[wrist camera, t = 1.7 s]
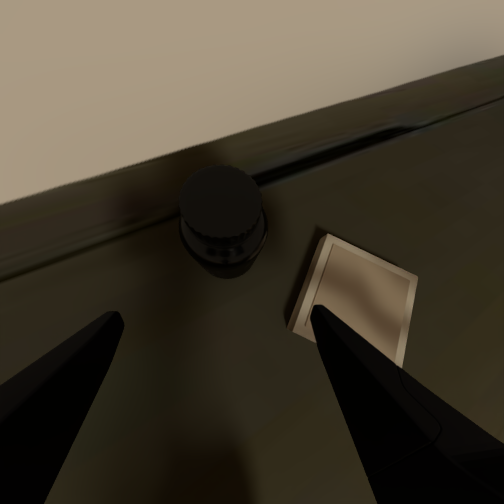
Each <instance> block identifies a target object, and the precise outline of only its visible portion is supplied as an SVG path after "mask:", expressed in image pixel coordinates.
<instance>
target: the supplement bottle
mask: <svg viewBox="0 0 504 504" xmlns="http://www.w3.org/2000/svg"><path fill="white" fill-rule="evenodd" d="M179 202H180V203H179V208H180V210H181V216H180V220H179V233H180V238H181V241H182V243H183V245H184V247H185V249H186V250H187V251H188V253H189V254H190V255H191V256H192V257H193V258H194V259H195V260H196V261H197V262H198V263H199V264H200V265H201V266H202V267H203V268H204V269H205V270H206V271H207V272H209V273H210V274H212V275H213V276H216V277H218V278H223V279H232V278H236V277H239V276H241V275H243V274H244V273H246V272H247V271H248V270H249V269H250V268H251V266H252V265H253V263H254V262H255V260H256V258H257V256H258V255H259V253H260V251H261V249H262V248H263V246H264V243H265V241H266V238H267V233H268V221H267V217H266V213H265V211H264V209H263V207H262V199H261V193H260V191H259V187H258V186H257V185H256V182H255V181H254V180H253V179H252V178H251V176H250V175H248V174H246V173H245V172H244V171H242V170H239V169H238V168H235V167H232V166H230V165H229V166H225V165H212V166H206V167H205V168H202V169H199V170H198V171H197V172H194V173H193V174H192V175H191V176H190V177H188V178H187V181H186V182H185V183H184V184H183V188H182V189H181V190H180V196H179Z"/></svg>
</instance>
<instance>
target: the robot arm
mask: <svg viewBox="0 0 504 504" xmlns="http://www.w3.org/2000/svg"><path fill="white" fill-rule="evenodd" d="M310 322H311V325H312V329H313V332H314V336H315V340H316V343H317V347H318V350H319V353H320V356H321V359H322V361H323V364H324V366H325V369H326V371H327V374H328V377H329V379H330V382H331V384H332V387H333V390H334V392H335V395H336V397H337V400H338V403H339V405H340V408H341V410H342V413H343V416H344V418H345V421H346V423H347V426H348V428H349V431H350V434H351V436H352V439H353V441H354V444H355V447H356V449H357V452H358V454H359V457H360V460H361V462H362V465H363V467H364V470H365V473H366V475H367V477H368V481H369V483H370V486H371V488H372V491H373V494H374V496H375V499H376V501H377V504H504V443H502V442H500V441H499V440H497V439H496V438H494V437H493V436H492V435H490V434H489V433H487V432H486V431H485V430H483V429H482V428H480V427H479V426H478V425H476V424H475V423H474V422H472V421H471V420H469V419H468V418H467V417H465V416H464V415H463V414H461V413H460V412H458V411H457V410H456V409H454V408H453V407H452V406H450V405H449V404H447V403H446V402H445V401H443V400H442V399H441V398H439V397H438V396H437V395H435V394H434V393H433V392H431V391H430V390H428V389H427V388H426V387H424V386H423V385H422V384H421V383H419V382H418V381H417V380H416V379H414V378H413V377H412V376H410V375H409V374H408V373H407V372H405V371H404V370H403V369H402V368H400V367H399V366H398V365H396V364H395V363H394V362H393V361H392V360H390V359H389V358H388V357H387V356H386V355H384V354H383V353H382V352H381V351H379V350H378V349H377V348H376V347H374V346H373V345H372V344H371V343H369V342H368V341H367V340H366V339H365V338H363V337H362V336H361V335H360V334H358V333H357V332H356V331H355V330H353V329H352V328H351V327H350V326H348V325H347V324H346V323H345V322H344V321H342V320H341V319H340V318H339V317H337V316H336V315H335V314H334V313H332V312H331V311H330V310H329V309H327V308H326V307H325V306H324V305H322V304H316V305H314V306H313V308H312V311H311V314H310ZM123 330H124V322H123V319H122V317H121V315H120V313H119V312H118V311H109V312H106V313H104V314H103V315H101V316H100V317H99V318H97V319H96V320H94V321H93V322H91V323H90V324H88V325H87V326H86V327H84V328H83V329H81V330H80V331H78V332H77V333H75V334H74V335H72V336H71V337H70V338H68V339H67V340H65V341H64V342H62V343H61V344H59V345H58V346H57V347H55V348H54V349H52V350H51V351H49V352H48V353H46V354H45V355H44V356H42V357H41V358H39V359H38V360H36V361H35V362H33V363H32V364H31V365H29V366H28V367H26V368H25V369H23V370H22V371H20V372H19V373H17V374H16V375H15V376H13V377H12V378H10V379H9V380H7V381H6V382H4V383H3V384H2V385H0V504H44V502H45V500H46V498H47V496H48V494H49V492H50V490H51V488H52V486H53V484H54V482H55V480H56V477H57V475H58V473H59V471H60V469H61V467H62V465H63V463H64V461H65V459H66V457H67V455H68V453H69V450H70V448H71V446H72V444H73V442H74V440H75V438H76V436H77V434H78V432H79V430H80V428H81V425H82V423H83V421H84V419H85V417H86V415H87V413H88V411H89V409H90V407H91V405H92V403H93V400H94V398H95V396H96V394H97V392H98V390H99V388H100V386H101V384H102V382H103V380H104V378H105V376H106V373H107V371H108V369H109V367H110V365H111V362H112V360H113V357H114V354H115V352H116V349H117V346H118V343H119V341H120V338H121V335H122V332H123Z"/></svg>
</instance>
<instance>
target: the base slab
mask: <svg viewBox="0 0 504 504" xmlns="http://www.w3.org/2000/svg"><path fill="white" fill-rule="evenodd" d="M417 280H418V276H415V275H413V274H411V273H409V272H407V271H405V270H403V269H401V268H399V267H397V266H395V265H393V264H390V263H388V262H386V261H384V260H382V259H380V258H378V257H376V256H374V255H372V254H370V253H368V252H366V251H363V250H361V249H359V248H357V247H355V246H353V245H351V244H349V243H347V242H345V241H343V240H341V239H338V238H336V237H334V236H332V235H330V234H326V235H325V236H324V237H322V238H321V239H320V240H319V243H318V246H317V248H316V251H315V254H314V256H313V259H312V262H311V264H310V267H309V270H308V273H307V275H306V278H305V281H304V283H303V286H302V289H301V291H300V294H299V297H298V299H297V302H296V305H295V307H294V310H293V313H292V316H291V318H290V321H289V324H288V326H287V329H289V330H291V331H293V332H295V333H297V334H299V335H301V336H303V337H305V338H307V339H309V340H311V341H313V342H315V343H316V340H315V336H314V332H313V329H312V325H311V322H310V314H311V311H312V308H313V306H314V305H316V304H322V305H324V306H325V307H326V308H327V309H329V310H330V311H331V312H332V313H334V314H335V315H336V316H337V317H339V318H340V319H341V320H342V321H344V322H345V323H346V324H347V325H348V326H350V327H351V328H352V329H353V330H355V331H356V332H357V333H358V334H360V335H361V336H362V337H363V338H365V339H366V340H367V341H368V342H369V343H371V344H372V345H373V346H374V347H376V348H377V349H378V350H379V351H381V352H382V353H383V354H384V355H386V356H387V357H388V358H389V359H390V360H392V361H393V362H394V363H395V364H396V365H398V366H399V367H400V368H402V364H403V358H404V353H405V347H406V341H407V336H408V330H409V325H410V319H411V313H412V308H413V302H414V297H415V291H416V285H417Z"/></svg>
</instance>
